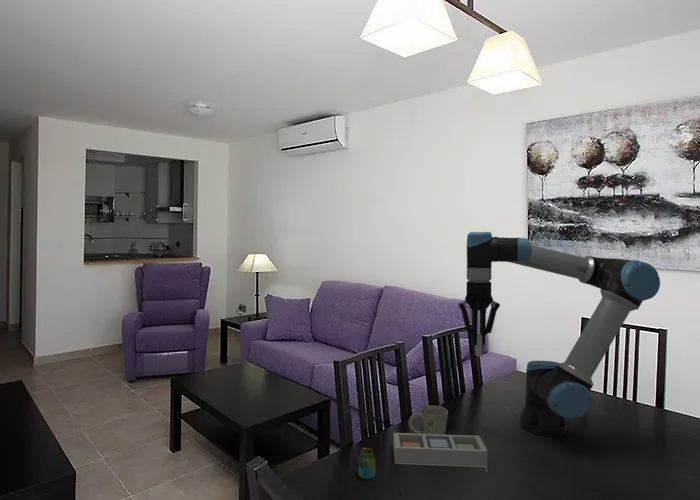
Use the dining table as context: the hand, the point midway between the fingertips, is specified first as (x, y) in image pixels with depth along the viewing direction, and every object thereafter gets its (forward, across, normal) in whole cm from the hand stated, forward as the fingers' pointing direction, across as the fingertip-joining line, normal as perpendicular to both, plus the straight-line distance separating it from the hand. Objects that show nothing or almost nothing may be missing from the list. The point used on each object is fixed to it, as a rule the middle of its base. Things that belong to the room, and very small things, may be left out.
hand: (478, 355), depth 148 cm
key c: (+26, +23, +11) cm, 37 cm away
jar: (+28, +36, +23) cm, 51 cm away
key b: (+25, +15, +12) cm, 32 cm away
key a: (+27, +7, +12) cm, 30 cm away
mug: (+29, +16, -2) cm, 33 cm away
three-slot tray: (+28, +15, +12) cm, 34 cm away
